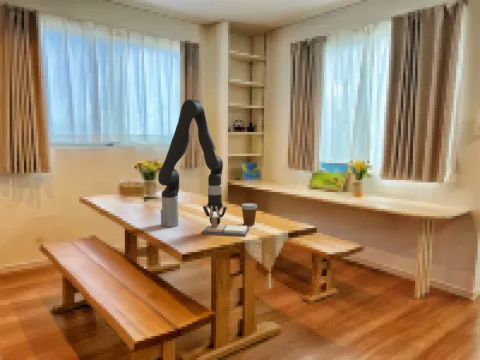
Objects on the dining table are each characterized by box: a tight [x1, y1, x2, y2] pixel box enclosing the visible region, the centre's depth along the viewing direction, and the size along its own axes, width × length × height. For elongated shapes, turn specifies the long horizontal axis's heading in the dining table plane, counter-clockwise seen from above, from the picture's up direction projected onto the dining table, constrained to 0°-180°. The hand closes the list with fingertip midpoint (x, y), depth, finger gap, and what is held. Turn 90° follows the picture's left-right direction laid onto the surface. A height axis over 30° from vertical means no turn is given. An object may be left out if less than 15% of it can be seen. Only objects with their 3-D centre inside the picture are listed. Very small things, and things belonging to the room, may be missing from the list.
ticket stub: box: [207, 216, 227, 232], centre depth 194 cm, size 8×10×6 cm
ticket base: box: [200, 224, 250, 237], centre depth 193 cm, size 24×13×2 cm, turn 79°
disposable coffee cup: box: [241, 202, 258, 227], centre depth 208 cm, size 10×10×12 cm
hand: (215, 223), depth 194 cm, fingers closed on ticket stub, 3 cm apart
